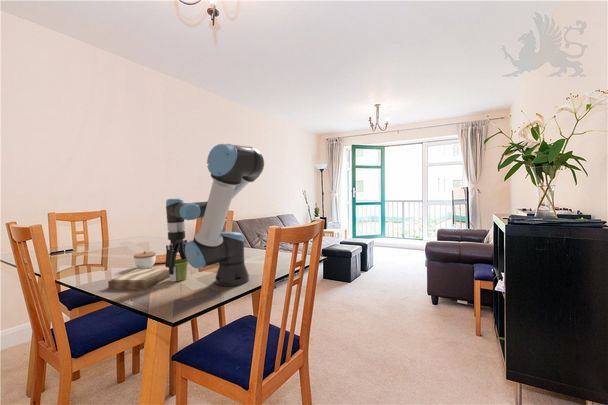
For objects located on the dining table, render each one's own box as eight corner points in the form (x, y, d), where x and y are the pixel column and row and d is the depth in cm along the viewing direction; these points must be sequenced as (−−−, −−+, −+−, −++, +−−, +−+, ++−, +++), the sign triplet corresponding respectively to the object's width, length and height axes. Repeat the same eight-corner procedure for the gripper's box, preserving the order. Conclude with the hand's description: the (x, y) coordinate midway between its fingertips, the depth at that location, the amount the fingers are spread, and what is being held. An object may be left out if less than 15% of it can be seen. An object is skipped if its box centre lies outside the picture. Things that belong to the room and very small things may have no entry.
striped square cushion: (170, 276, 142) (169, 268, 141) (145, 290, 124) (145, 281, 124) (137, 275, 144) (137, 268, 144) (108, 288, 126) (108, 280, 126)
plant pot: (182, 283, 131) (180, 264, 131) (164, 282, 133) (163, 264, 133) (193, 276, 140) (192, 259, 140) (176, 275, 142) (175, 258, 142)
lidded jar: (160, 265, 164) (159, 249, 163) (148, 270, 153) (147, 253, 152) (143, 265, 165) (142, 249, 164) (129, 270, 154) (128, 253, 153)
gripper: (181, 227, 146) (184, 270, 148) (154, 234, 125) (157, 285, 126) (195, 227, 145) (197, 270, 147) (170, 234, 124) (172, 285, 125)
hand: (178, 277), depth 137 cm, fingers closed on plant pot, 9 cm apart
